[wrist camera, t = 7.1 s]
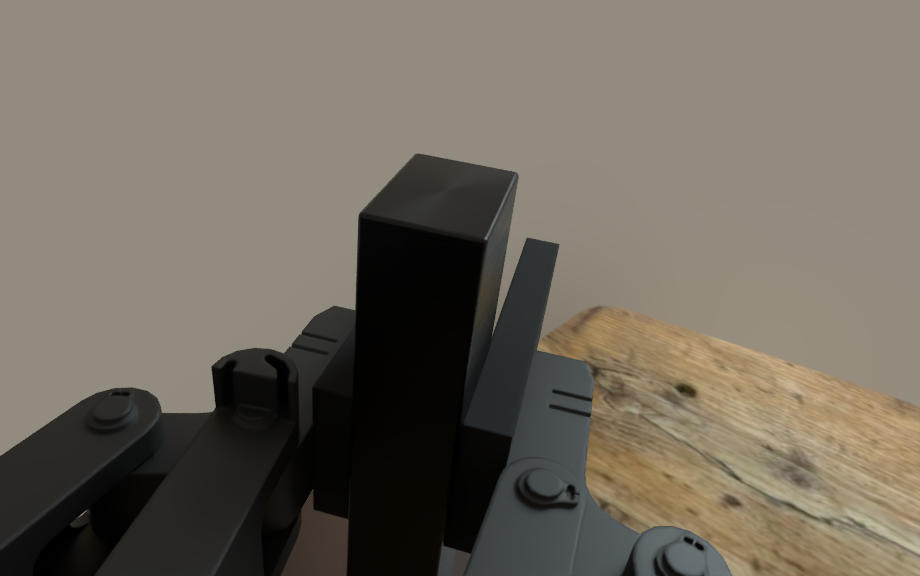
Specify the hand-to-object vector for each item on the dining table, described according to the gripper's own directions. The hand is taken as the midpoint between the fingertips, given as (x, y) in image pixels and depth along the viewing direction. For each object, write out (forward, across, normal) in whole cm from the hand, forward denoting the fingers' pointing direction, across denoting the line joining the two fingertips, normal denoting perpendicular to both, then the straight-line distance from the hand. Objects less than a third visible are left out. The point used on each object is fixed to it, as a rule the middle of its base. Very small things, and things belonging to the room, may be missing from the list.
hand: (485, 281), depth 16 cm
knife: (-6, 0, -15) cm, 16 cm away
